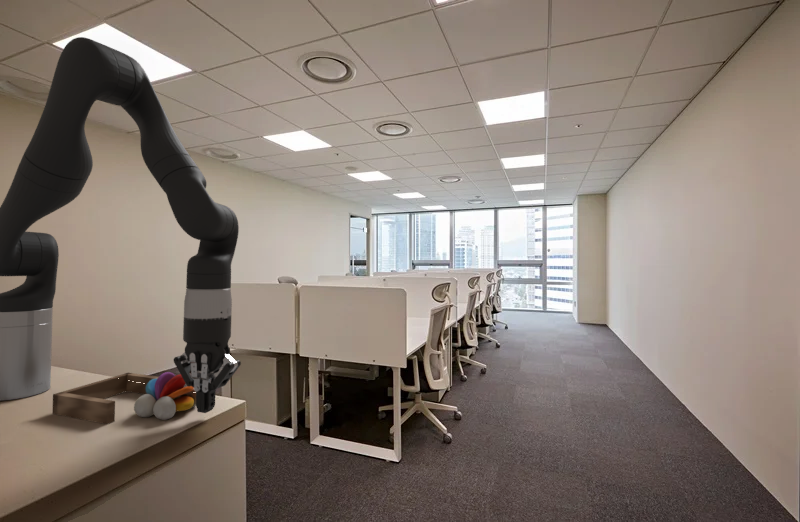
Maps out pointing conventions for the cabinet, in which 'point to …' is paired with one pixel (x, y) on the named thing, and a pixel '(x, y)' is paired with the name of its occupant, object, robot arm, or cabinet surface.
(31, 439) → the cabinet surface
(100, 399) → the bay
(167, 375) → the rainbow disc stack
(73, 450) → the cabinet surface
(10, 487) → the cabinet surface
